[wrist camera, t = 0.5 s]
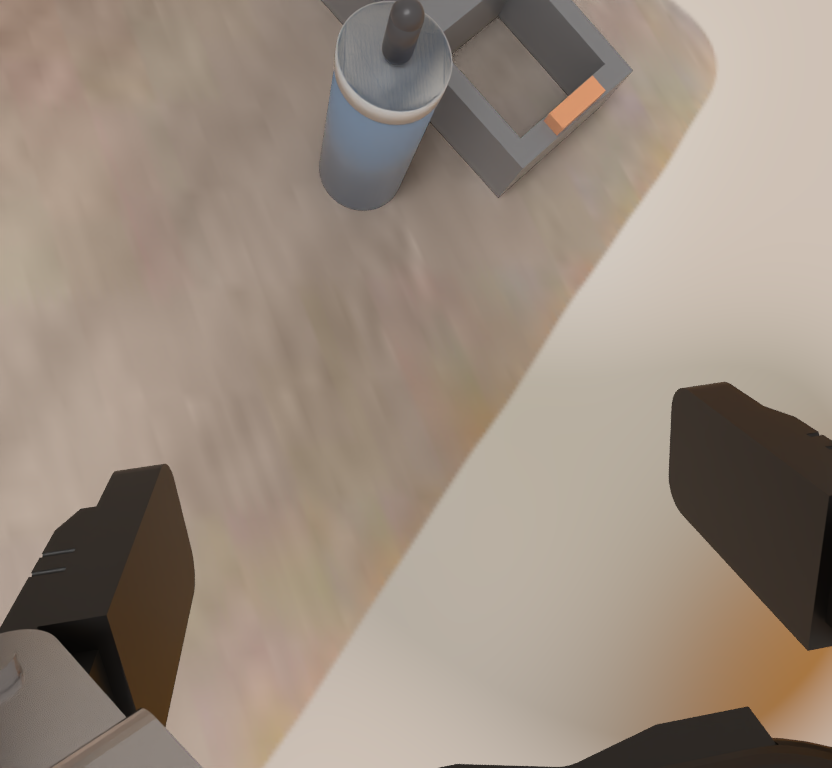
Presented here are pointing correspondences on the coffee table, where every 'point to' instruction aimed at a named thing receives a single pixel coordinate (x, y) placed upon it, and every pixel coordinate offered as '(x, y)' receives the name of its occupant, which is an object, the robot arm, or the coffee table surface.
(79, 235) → the coffee table surface
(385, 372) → the coffee table surface
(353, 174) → the canister
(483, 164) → the gray two-compartment caddy
